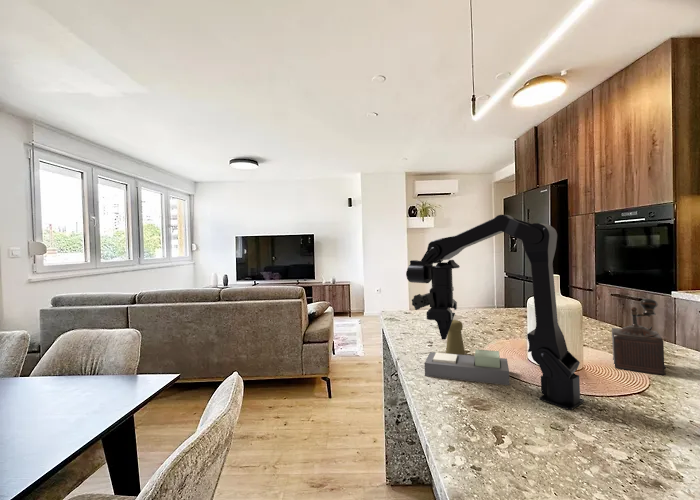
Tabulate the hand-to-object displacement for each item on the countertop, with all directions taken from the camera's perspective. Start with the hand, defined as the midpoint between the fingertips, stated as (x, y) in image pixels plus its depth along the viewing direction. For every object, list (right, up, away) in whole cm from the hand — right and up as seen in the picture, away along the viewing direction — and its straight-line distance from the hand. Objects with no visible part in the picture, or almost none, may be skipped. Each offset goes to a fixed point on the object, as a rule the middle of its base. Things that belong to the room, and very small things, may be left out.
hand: (443, 339), depth 93 cm
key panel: (+6, -9, -2) cm, 11 cm away
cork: (+8, -9, +15) cm, 19 cm away
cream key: (0, -8, 0) cm, 8 cm away
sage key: (+11, -6, -4) cm, 13 cm away
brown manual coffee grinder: (+55, -7, 0) cm, 56 cm away
